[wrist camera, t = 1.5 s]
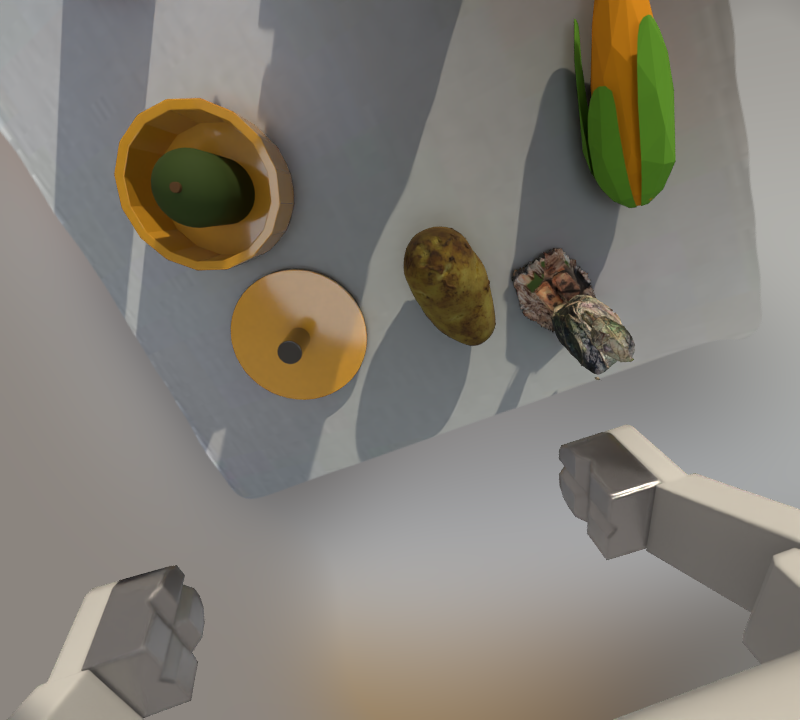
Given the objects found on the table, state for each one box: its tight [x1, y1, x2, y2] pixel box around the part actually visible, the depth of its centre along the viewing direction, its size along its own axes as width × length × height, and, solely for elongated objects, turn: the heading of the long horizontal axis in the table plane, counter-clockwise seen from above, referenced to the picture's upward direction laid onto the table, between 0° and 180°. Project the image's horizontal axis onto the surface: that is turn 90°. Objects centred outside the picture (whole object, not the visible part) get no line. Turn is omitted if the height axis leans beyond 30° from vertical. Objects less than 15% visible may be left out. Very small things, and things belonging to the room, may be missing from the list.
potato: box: [404, 227, 496, 346], centre depth 43 cm, size 8×13×8 cm, turn 11°
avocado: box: [151, 148, 255, 228], centre depth 38 cm, size 6×6×10 cm
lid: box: [231, 269, 367, 400], centre depth 46 cm, size 15×15×6 cm
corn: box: [574, 0, 675, 208], centre depth 38 cm, size 7×8×20 cm
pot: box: [114, 98, 294, 270], centre depth 40 cm, size 14×14×6 cm
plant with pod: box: [512, 248, 635, 380], centre depth 39 cm, size 8×11×20 cm
